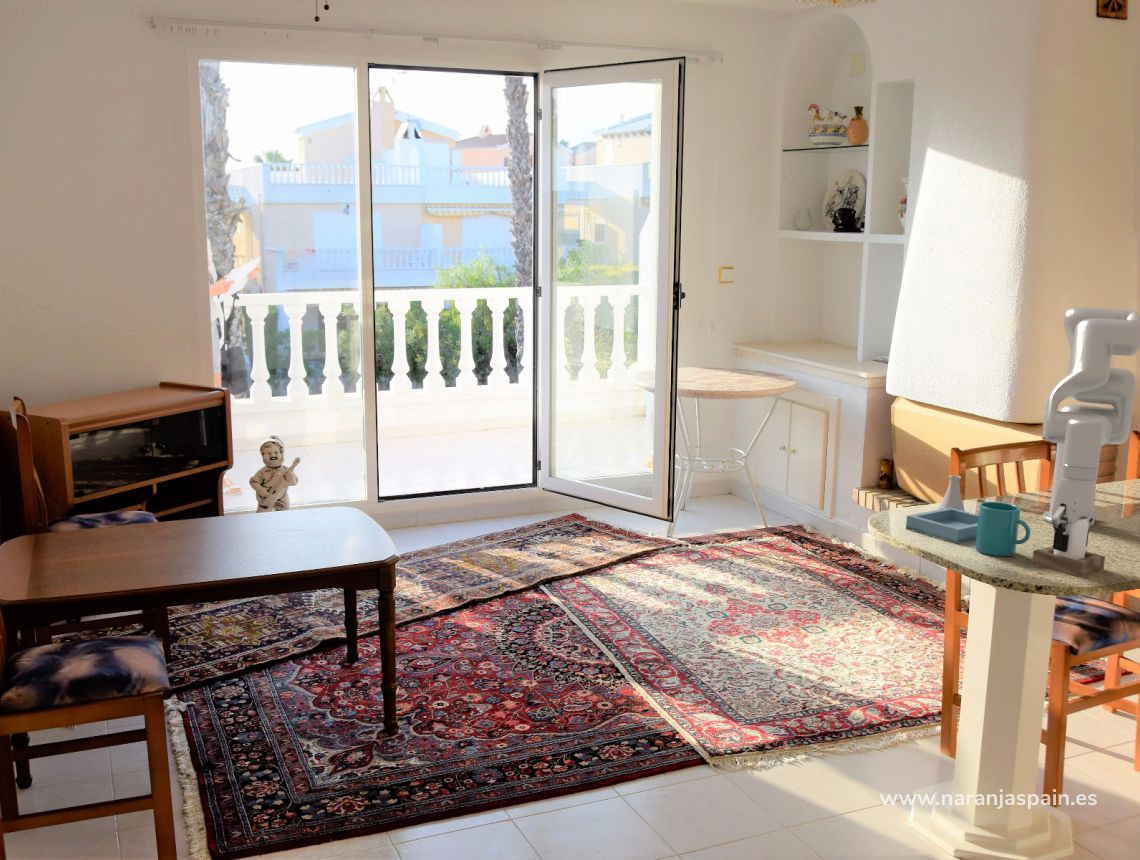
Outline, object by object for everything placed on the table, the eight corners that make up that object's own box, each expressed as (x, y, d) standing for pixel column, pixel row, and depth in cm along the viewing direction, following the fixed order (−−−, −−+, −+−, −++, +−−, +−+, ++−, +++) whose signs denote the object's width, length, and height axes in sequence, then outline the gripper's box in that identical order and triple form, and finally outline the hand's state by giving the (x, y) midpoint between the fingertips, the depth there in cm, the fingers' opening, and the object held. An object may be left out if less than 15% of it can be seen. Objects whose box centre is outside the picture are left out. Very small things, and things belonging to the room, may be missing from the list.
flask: (969, 515, 291) (973, 479, 289) (943, 514, 291) (946, 478, 289) (959, 509, 298) (963, 473, 296) (933, 508, 298) (937, 473, 296)
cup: (1021, 562, 248) (1026, 515, 246) (969, 551, 256) (974, 505, 254) (1033, 554, 255) (1038, 508, 253) (982, 544, 263) (986, 499, 261)
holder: (1058, 556, 254) (1059, 544, 254) (1103, 569, 246) (1105, 556, 245) (1032, 563, 248) (1033, 550, 248) (1077, 576, 239) (1079, 563, 239)
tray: (948, 520, 285) (950, 507, 284) (999, 534, 273) (1001, 520, 272) (905, 528, 274) (907, 515, 274) (956, 543, 262) (958, 529, 262)
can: (1079, 572, 242) (1086, 520, 240) (1049, 566, 246) (1055, 515, 244) (1085, 566, 248) (1092, 515, 245) (1056, 560, 251) (1062, 510, 249)
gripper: (1083, 466, 251) (1074, 539, 254) (1042, 473, 241) (1033, 549, 244) (1115, 472, 245) (1105, 547, 248) (1074, 480, 235) (1064, 557, 238)
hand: (1069, 547), depth 246 cm, fingers open, 7 cm apart
